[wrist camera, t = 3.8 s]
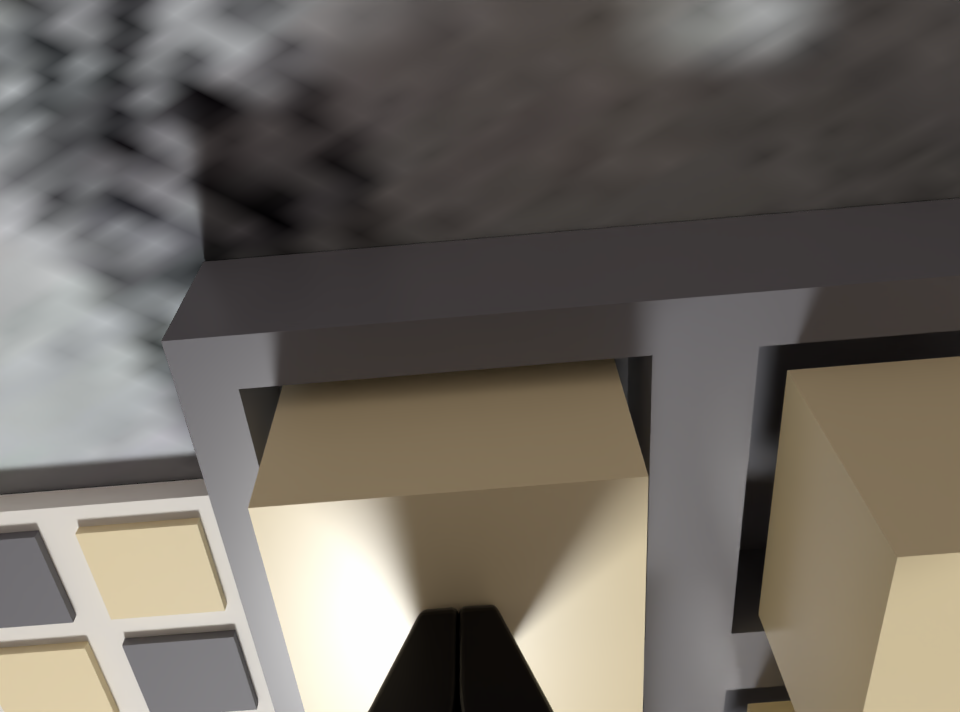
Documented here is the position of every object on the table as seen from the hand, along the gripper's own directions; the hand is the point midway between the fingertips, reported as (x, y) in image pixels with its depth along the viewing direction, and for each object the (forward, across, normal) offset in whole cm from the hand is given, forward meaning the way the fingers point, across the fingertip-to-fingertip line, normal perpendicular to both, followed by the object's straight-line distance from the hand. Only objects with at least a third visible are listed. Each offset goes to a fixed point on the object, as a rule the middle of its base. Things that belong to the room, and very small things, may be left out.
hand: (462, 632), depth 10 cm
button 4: (+3, 0, 0) cm, 3 cm away
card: (+4, +6, +3) cm, 8 cm away
